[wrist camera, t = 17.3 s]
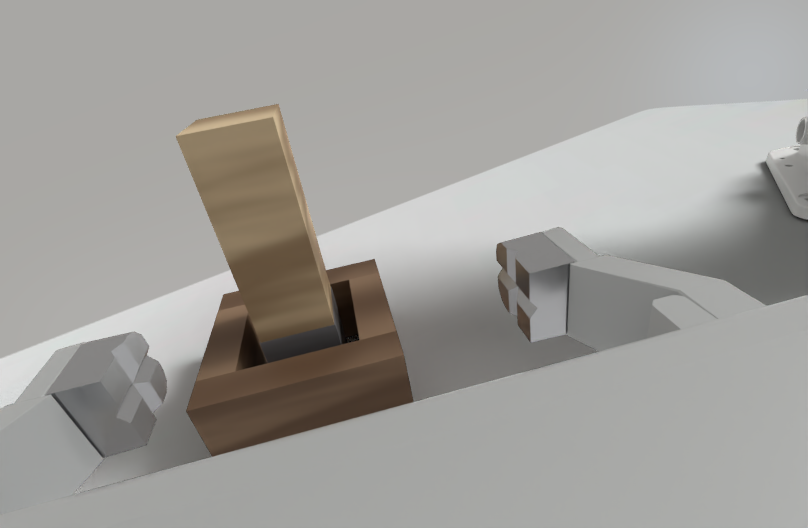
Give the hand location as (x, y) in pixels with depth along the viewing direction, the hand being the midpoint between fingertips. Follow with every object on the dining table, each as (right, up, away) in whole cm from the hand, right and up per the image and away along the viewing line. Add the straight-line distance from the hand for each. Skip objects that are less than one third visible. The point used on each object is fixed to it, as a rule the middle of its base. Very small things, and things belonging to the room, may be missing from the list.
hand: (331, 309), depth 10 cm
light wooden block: (-4, -6, +18) cm, 19 cm away
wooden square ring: (-4, -6, +18) cm, 19 cm away
